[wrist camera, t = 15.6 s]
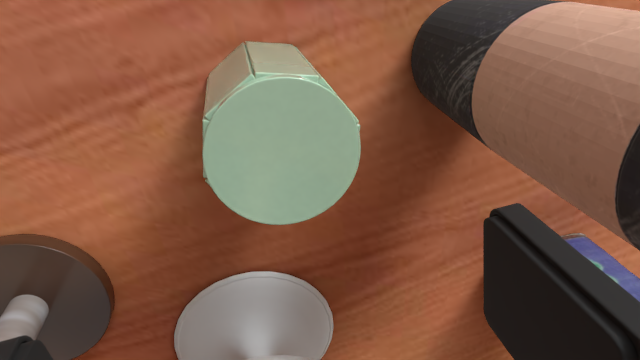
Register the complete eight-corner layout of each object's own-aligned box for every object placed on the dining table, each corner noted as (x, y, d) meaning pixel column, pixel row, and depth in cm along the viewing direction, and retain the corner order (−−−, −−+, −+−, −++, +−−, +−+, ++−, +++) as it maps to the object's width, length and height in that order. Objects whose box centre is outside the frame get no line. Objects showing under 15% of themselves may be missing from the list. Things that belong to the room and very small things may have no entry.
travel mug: (474, 129, 32) (782, 335, 15) (384, 83, 30) (625, 264, 12) (540, 26, 30) (998, 122, 12) (449, -34, 28) (866, -24, 10)
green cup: (182, 98, 28) (166, 154, 20) (270, 16, 27) (291, 40, 19) (263, 176, 31) (277, 251, 23) (345, 104, 30) (390, 158, 22)
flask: (486, 287, 39) (572, 393, 29) (483, 260, 38) (572, 361, 28) (587, 253, 40) (704, 345, 30) (588, 224, 38) (710, 312, 29)
